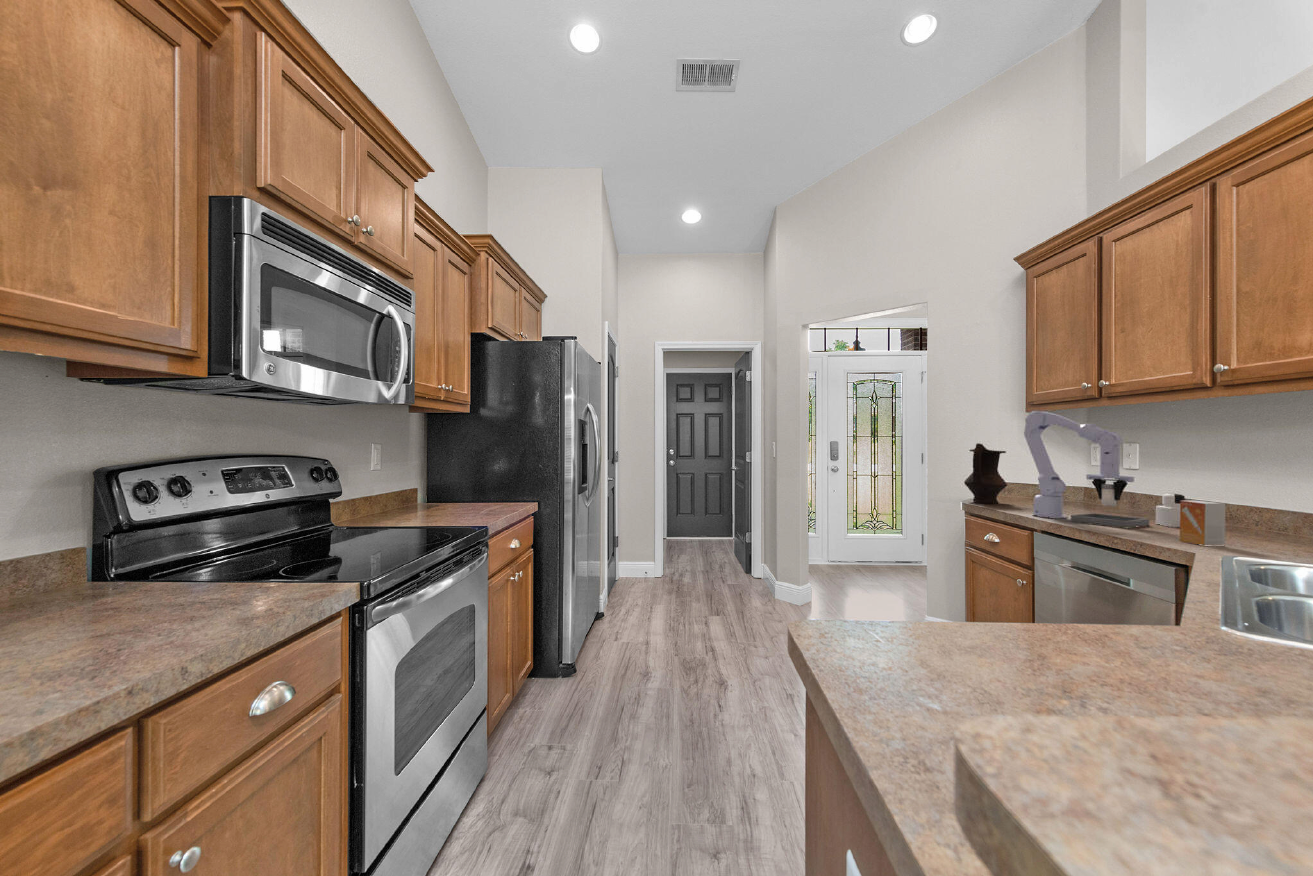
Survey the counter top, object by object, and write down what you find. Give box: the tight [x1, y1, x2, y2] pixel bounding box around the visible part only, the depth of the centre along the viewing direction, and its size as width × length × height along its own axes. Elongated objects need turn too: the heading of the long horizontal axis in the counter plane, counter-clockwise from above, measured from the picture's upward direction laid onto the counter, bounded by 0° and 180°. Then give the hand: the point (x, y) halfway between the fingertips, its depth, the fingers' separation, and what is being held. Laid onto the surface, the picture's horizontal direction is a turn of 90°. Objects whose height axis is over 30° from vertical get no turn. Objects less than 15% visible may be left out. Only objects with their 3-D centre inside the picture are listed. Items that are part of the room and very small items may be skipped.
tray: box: [1070, 512, 1150, 529], centre depth 208 cm, size 18×16×2 cm
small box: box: [1179, 499, 1226, 545], centre depth 168 cm, size 8×6×13 cm
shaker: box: [1101, 483, 1117, 507], centre depth 208 cm, size 5×5×8 cm
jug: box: [963, 442, 1008, 505], centre depth 274 cm, size 21×18×30 cm
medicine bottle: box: [1155, 493, 1186, 528], centre depth 204 cm, size 7×7×12 cm
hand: (1109, 499), depth 208 cm, fingers closed on shaker, 4 cm apart
